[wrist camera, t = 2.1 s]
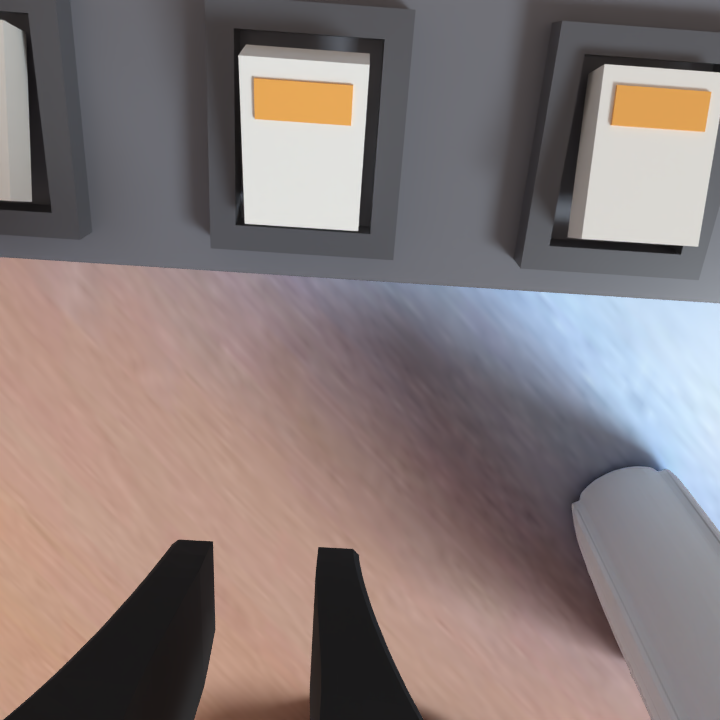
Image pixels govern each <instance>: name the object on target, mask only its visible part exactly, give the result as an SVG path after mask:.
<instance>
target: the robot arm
mask: <svg viewBox="0 0 720 720" xmlns="http://www.w3.org/2000/svg"><path fill="white" fill-rule="evenodd" d="M214 633H215V600H214V564H213V542H212V541H193V540H177V541H176V542H175V543H174V544H172V545H171V547H170V548H169V549H168V551H167V552H166V553H165V554H164V556H163V557H162V558H161V560H160V561H159V562H158V563H157V565H156V566H155V567H154V568H153V569H152V571H151V572H150V573H149V574H148V576H147V577H146V578H145V579H144V580H143V582H142V583H141V584H140V585H139V586H138V587H137V589H136V590H135V591H134V592H133V593H132V595H131V596H130V597H129V598H128V599H127V600H126V601H125V602H124V603H123V605H122V606H121V607H120V608H119V609H118V610H117V611H116V612H115V613H114V615H113V616H112V617H111V618H110V619H109V620H108V621H107V622H106V623H105V625H104V626H103V627H102V628H101V629H100V630H99V631H98V632H97V633H96V634H95V635H94V636H93V637H92V638H91V639H90V640H89V641H88V642H87V643H86V644H85V645H84V646H83V647H82V648H81V649H80V650H79V651H78V652H77V653H76V654H75V655H74V656H73V657H72V658H71V659H70V660H69V661H68V662H67V663H66V664H65V665H64V666H63V667H62V668H61V669H60V670H59V671H58V672H57V673H56V674H55V675H54V676H53V677H51V678H50V679H49V680H48V681H47V682H46V683H45V684H44V685H43V686H42V687H41V688H40V689H38V690H37V691H36V692H35V693H34V694H33V695H32V696H31V697H29V698H28V699H27V700H26V701H25V702H24V703H22V704H21V705H20V706H19V707H18V708H17V709H16V710H14V711H13V712H12V713H11V714H10V715H8V716H7V717H6V718H5V719H4V720H194V718H195V715H196V711H197V708H198V705H199V702H200V698H201V695H202V692H203V688H204V684H205V679H206V675H207V670H208V665H209V660H210V654H211V649H212V644H213V639H214ZM310 720H423V718H422V716H421V714H420V712H419V711H418V709H417V707H416V705H415V703H414V701H413V699H412V698H411V696H410V694H409V692H408V690H407V688H406V686H405V684H404V682H403V680H402V678H401V676H400V673H399V671H398V669H397V667H396V665H395V663H394V661H393V659H392V656H391V654H390V652H389V650H388V647H387V645H386V642H385V640H384V637H383V635H382V633H381V630H380V628H379V625H378V623H377V620H376V617H375V615H374V612H373V609H372V606H371V603H370V600H369V597H368V594H367V591H366V588H365V584H364V580H363V576H362V572H361V567H360V562H359V555H358V554H357V553H356V552H355V551H354V550H353V549H342V548H324V547H318V557H317V567H316V578H315V598H314V617H313V637H312V656H311V676H310Z"/></svg>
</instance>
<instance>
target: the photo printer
mask: <svg viewBox="0 0 720 720" xmlns="http://www.w3.org/2000/svg"><path fill="white" fill-rule="evenodd" d="M572 514H573V522H574V527H575V532H576V537H577V541H578V544H579V547H580V550H581V553H582V556H583V558H584V561H585V564H586V566H587V571H588V574H589V575H590V577H591V580H592V583H593V585H594V588H595V590H596V593H597V596H598V598H599V601H600V603H601V606H602V608H603V610H604V613H605V615H606V618H607V620H608V622H609V625H610V627H611V630H612V632H613V634H614V637H615V639H616V641H617V643H618V646H619V648H620V650H621V652H622V655H623V657H624V659H625V661H626V664H627V666H628V668H629V670H630V674H631V676H632V678H633V680H634V681H635V684H636V686H637V688H638V690H639V693H640V695H641V697H642V699H643V702H644V704H645V706H646V708H647V711H648V713H649V715H650V718H651V720H720V532H719V530H718V529H717V528H716V526H715V525H714V524H713V522H712V521H711V520H710V518H709V517H708V516H707V514H706V513H705V512H704V510H703V509H702V508H701V507H700V505H699V504H698V503H697V501H696V500H695V499H694V497H693V496H692V495H691V493H690V492H689V491H688V490H687V488H686V487H685V486H684V485H683V483H682V482H681V481H680V480H679V479H678V478H677V477H676V476H675V475H674V474H673V473H672V472H671V471H670V470H668V469H664V470H662V471H656V470H655V469H653V468H651V467H643V466H633V467H626V468H621V469H617V470H614V471H612V472H609V473H607V474H605V475H603V476H601V477H599V478H598V479H596V480H594V481H593V482H592V483H591V484H590V485H588V486H587V487H586V488H585V489H584V491H583V492H582V493H581V495H580V500H579V501H577V502H574V503H573V504H572Z"/></svg>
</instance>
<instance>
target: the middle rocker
mask: <svg viewBox="0 0 720 720" xmlns="http://www.w3.org/2000/svg"><path fill="white" fill-rule="evenodd" d="M238 59H239V85H240V111H241V138H242V164H243V190H244V217H245V224H257V225H272V226H287V227H302V228H318V229H333V230H348V231H358V226H359V212H360V197H361V183H362V168H363V154H364V139H365V125H366V110H367V96H368V81H369V67H370V54H369V53H355V52H342V51H328V50H314V49H301V48H287V47H273V46H260V45H245V47H244V48H243V49H242V51H241V52H240V54H239V55H238Z"/></svg>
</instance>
